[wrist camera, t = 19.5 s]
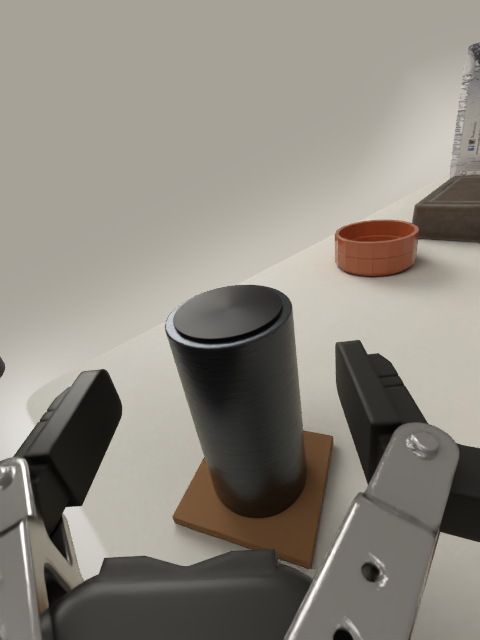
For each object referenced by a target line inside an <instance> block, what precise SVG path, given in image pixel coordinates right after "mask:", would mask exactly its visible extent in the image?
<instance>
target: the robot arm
mask: <svg viewBox="0 0 480 640" xmlns="http://www.w3.org/2000/svg"><path fill="white" fill-rule="evenodd" d="M335 354H336V385H337V391H338V395H339V399H340V402H341V405H342V408H343V411H344V414H345V417H346V420H347V423H348V426H349V429H350V432H351V435H352V438H353V441H354V444H355V447H356V450H357V453H358V456H359V459H360V462H361V465H362V468H363V471H364V474H365V477H366V480H367V483H368V487H367V489H366V491H365V492H364V493H361V492H360V493H358V494H357V496H356V497H355V498H354V500H353V502H352V504H351V506H350V508H349V510H348V512H347V514H346V516H345V518H344V520H343V522H342V524H341V526H340V528H339V530H338V532H337V534H336V536H335V538H334V540H333V542H332V544H331V546H330V548H329V550H328V552H327V554H326V556H325V558H324V560H323V562H322V564H321V566H320V568H319V570H318V572H317V574H316V576H315V578H314V580H313V579H311V578H310V577H308V576H307V575H305V574H303V573H302V572H300V571H298V570H296V569H294V568H291V567H289V566H286V565H283V564H279V563H278V561H277V556H276V550H275V549H265V550H246V551H231V552H228V553H225V554H222V555H219V556H217V557H214V558H211V559H208V560H205V561H202V562H199V563H196V564H193V565H191V566H179V565H176V564H172V563H169V562H165V561H161V560H158V559H154V558H151V557H147V556H133V557H114V558H104V561H103V564H102V567H101V569H100V573H99V574H98V575H96V576H94V577H92V578H90V579H88V580H85V581H84V580H83V578H82V576H81V573H80V570H79V566H78V562H77V558H76V554H75V549H74V545H73V541H72V537H71V533H70V529H69V525H68V521H67V518H66V517H65V515H64V514H63V511H64V509H65V507H72V506H82V504H83V502H84V500H85V498H86V495H87V493H88V491H89V489H90V486H91V484H92V482H93V480H94V477H95V475H96V473H97V471H98V469H99V466H100V464H101V462H102V460H103V457H104V455H105V453H106V451H107V448H108V446H109V444H110V442H111V439H112V437H113V435H114V433H115V430H116V428H117V426H118V424H119V421H120V419H121V416H122V404H121V400H120V398H119V396H118V394H117V391H116V389H115V387H114V384H113V382H112V380H111V378H110V375H109V373H108V372H107V371H106V370H105V369H101V370H92V371H83V372H81V373H80V374H79V376H78V377H77V379H76V380H75V381H74V383H73V384H72V386H71V387H68V388H67V389H66V390H65V391H64V392H62V393H61V394H60V395H59V396H58V397H56V398H55V400H54V401H53V402H52V404H51V405H50V407H49V408H48V409H47V412H45V414H44V415H43V416H42V418H41V419H40V422H38V423H37V425H36V426H35V427H34V429H33V430H32V432H31V433H30V434H29V436H28V437H27V439H26V440H25V441H24V443H23V444H22V445H21V447H20V448H19V450H18V451H17V452H16V454H15V455H14V456H13V457H12V458H8V459H5V460H2V461H0V640H411V637H412V634H413V630H414V626H415V623H416V619H417V615H418V611H419V608H420V604H421V600H422V596H423V593H424V589H425V586H426V582H427V578H428V575H429V571H430V567H431V564H432V560H433V557H434V553H435V549H436V546H437V542H438V539H439V535H440V532H443V533H446V534H450V535H454V536H458V537H462V538H465V539H469V540H473V541H477V542H480V448H475V447H469V446H464V445H460V444H457V443H455V441H454V440H453V439H452V438H451V437H450V436H449V435H448V434H447V433H446V432H444V431H443V430H441V429H439V428H437V427H435V426H432V425H429V424H428V423H427V421H426V420H425V418H424V416H423V415H422V413H421V411H420V410H419V408H418V406H417V405H416V403H415V401H414V400H413V398H412V396H411V395H410V393H409V391H408V390H407V388H406V386H404V383H403V382H402V380H401V378H400V377H399V376H398V373H397V372H396V370H395V368H394V367H393V365H392V363H391V362H390V361H388V360H387V359H386V358H384V357H383V356H381V355H380V354H379V353H377V354H368V355H367V353H366V351H365V349H364V347H363V345H362V343H361V341H360V340H355V341H346V342H337V343H336V346H335Z"/></svg>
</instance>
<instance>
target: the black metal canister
mask: <svg viewBox="0 0 480 640" xmlns="http://www.w3.org/2000/svg"><path fill="white" fill-rule="evenodd" d="M165 331H166V334H167V337H168V340H169V344H170V347H171V350H172V353H173V356H174V360H175V363H176V366H177V369H178V373H179V376H180V379H181V382H182V386H183V389H184V392H185V395H186V399H187V402H188V405H189V408H190V411H191V415H192V418H193V421H194V424H195V428H196V431H197V434H198V437H199V441H200V444H201V447H202V450H203V453H204V457H205V460H206V463H207V466H208V470H209V473H210V476H211V479H212V483H213V486H214V489H215V492H216V494H217V496H218V498H219V499H220V501H221V502H222V503H223V504H224V505H225V507H227V508H228V509H229V510H231V511H232V512H234V513H236V514H238V515H241V516H244V517H248V518H266V517H271V516H274V515H277V514H279V513H281V512H283V511H284V510H286V509H288V508H289V507H290V506H291V505H292V504H293V503H294V502H295V501H296V500H297V499H298V497H299V496H300V495H301V493H302V491H303V489H304V486H305V483H306V477H307V470H306V458H305V447H304V436H303V424H302V413H301V402H300V390H299V379H298V368H297V356H296V345H295V334H294V322H293V311H292V304H291V302H290V300H289V298H288V297H287V296H286V295H285V294H283V293H282V292H280V291H278V290H276V289H273V288H270V287H265V286H258V285H235V286H228V287H222V288H218V289H214V290H210V291H207V292H204V293H201V294H199V295H196V296H194V297H193V298H190V299H188V300H187V301H185V302H183V303H182V304H181V305H179V306H178V307H176V308H175V309H174V310H173V311H172V312H171V314H170V315H169V316H168V318H167V320H166V324H165Z"/></svg>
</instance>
